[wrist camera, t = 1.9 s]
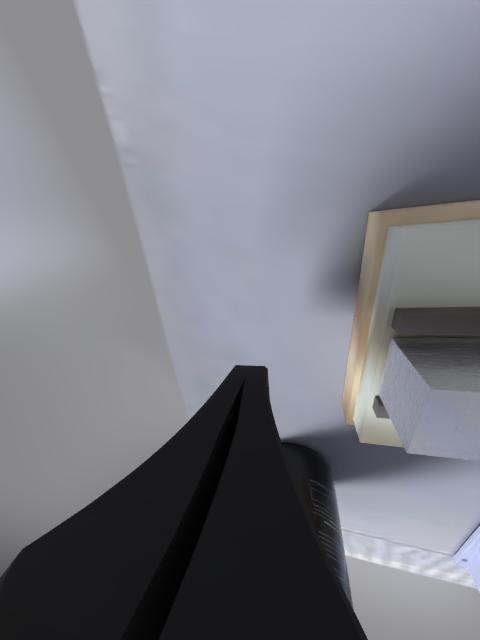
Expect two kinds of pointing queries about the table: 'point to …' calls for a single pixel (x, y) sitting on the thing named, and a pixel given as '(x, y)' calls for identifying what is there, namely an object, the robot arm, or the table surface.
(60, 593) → the robot arm
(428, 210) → the lock board
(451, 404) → the bolt
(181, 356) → the table surface
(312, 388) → the table surface
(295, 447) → the supplement bottle
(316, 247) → the table surface
